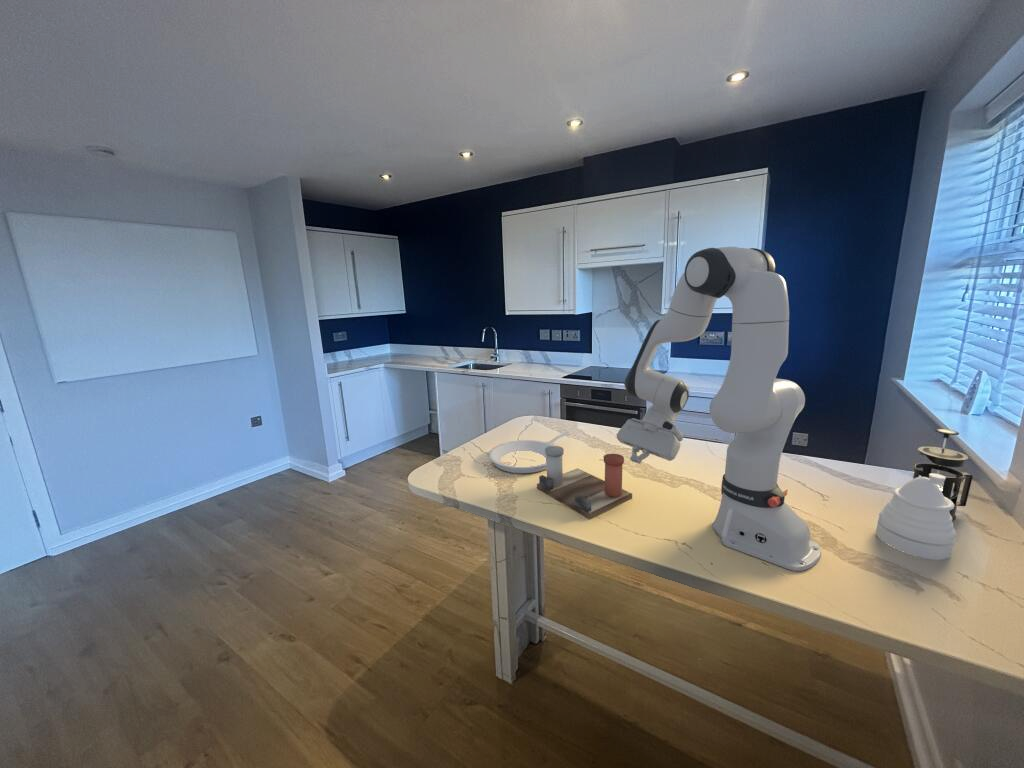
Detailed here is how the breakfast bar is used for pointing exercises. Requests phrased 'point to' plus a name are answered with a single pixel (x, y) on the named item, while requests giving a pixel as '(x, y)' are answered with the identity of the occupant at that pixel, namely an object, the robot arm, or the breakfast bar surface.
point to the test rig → (582, 493)
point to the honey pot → (919, 519)
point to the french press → (942, 460)
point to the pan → (521, 446)
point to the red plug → (613, 474)
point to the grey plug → (554, 464)
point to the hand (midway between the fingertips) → (634, 461)
